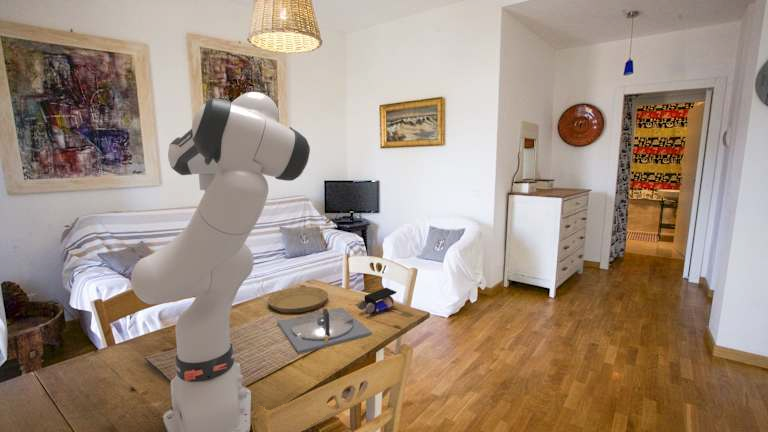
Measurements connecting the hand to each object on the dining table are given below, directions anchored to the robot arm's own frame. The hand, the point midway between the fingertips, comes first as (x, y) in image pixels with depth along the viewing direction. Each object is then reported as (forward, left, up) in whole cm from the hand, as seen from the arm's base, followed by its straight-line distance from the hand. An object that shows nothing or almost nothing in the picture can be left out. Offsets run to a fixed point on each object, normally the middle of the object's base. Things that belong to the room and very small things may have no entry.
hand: (218, 228), depth 116 cm
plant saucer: (+20, -30, -38) cm, 52 cm away
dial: (-8, -30, -36) cm, 47 cm away
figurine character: (-4, -54, -37) cm, 66 cm away
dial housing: (-8, -30, -37) cm, 48 cm away
